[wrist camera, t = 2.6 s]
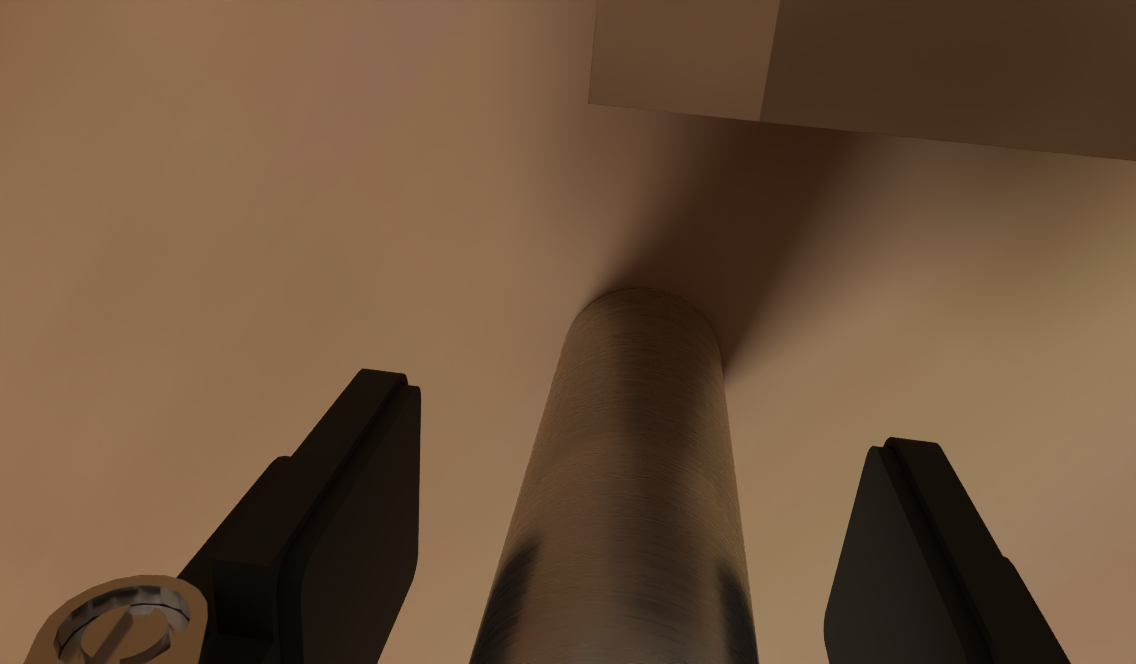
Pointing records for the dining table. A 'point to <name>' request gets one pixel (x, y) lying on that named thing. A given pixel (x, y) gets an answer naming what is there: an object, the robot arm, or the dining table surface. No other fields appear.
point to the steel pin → (627, 503)
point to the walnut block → (883, 67)
